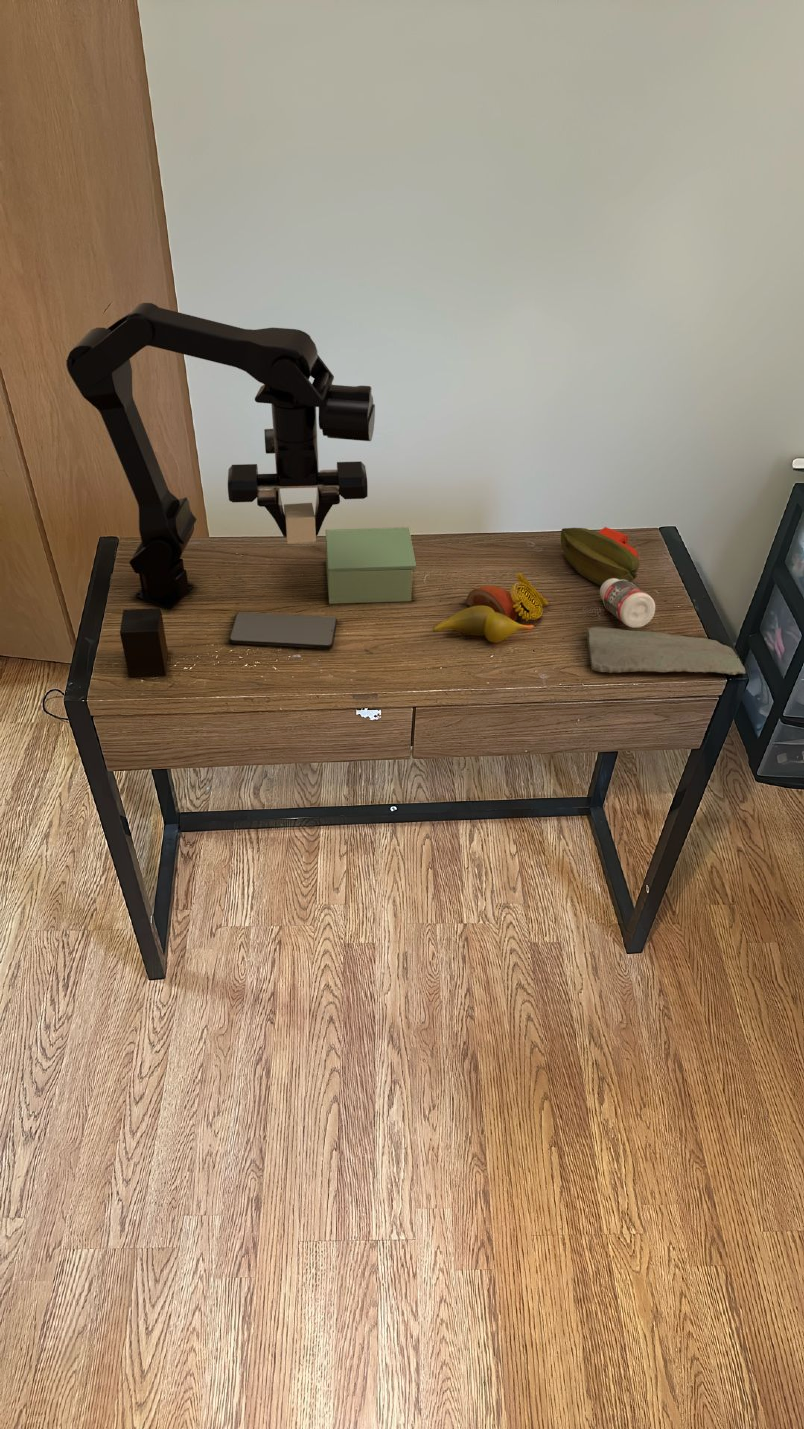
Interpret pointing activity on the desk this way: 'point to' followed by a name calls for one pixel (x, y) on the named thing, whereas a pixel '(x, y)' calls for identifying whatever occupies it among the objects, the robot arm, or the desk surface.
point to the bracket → (618, 538)
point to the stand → (144, 642)
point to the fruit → (597, 556)
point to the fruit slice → (493, 600)
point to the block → (300, 523)
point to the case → (369, 585)
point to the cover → (369, 549)
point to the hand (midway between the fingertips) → (300, 534)
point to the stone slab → (657, 652)
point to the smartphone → (283, 630)
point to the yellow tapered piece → (482, 623)
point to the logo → (527, 599)
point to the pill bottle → (627, 602)
